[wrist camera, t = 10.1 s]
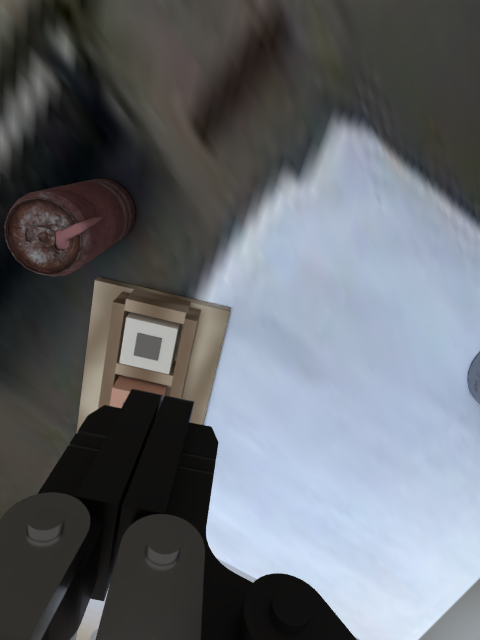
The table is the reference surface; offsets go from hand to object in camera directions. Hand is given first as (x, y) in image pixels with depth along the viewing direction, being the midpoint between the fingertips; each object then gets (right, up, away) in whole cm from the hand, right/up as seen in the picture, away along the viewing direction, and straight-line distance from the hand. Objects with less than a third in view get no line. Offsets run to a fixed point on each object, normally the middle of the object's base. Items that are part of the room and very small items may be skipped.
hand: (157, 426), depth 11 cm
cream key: (-7, +1, +36) cm, 36 cm away
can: (-11, +13, +34) cm, 38 cm away
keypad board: (-8, -4, +41) cm, 42 cm away
